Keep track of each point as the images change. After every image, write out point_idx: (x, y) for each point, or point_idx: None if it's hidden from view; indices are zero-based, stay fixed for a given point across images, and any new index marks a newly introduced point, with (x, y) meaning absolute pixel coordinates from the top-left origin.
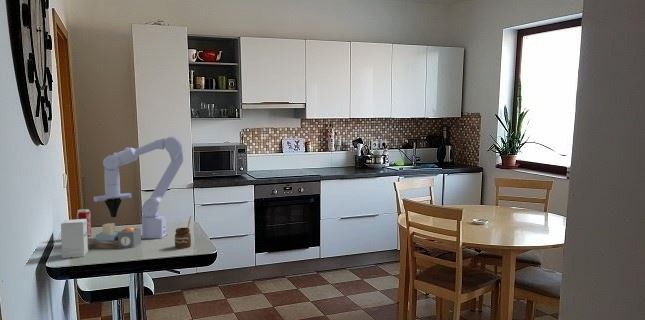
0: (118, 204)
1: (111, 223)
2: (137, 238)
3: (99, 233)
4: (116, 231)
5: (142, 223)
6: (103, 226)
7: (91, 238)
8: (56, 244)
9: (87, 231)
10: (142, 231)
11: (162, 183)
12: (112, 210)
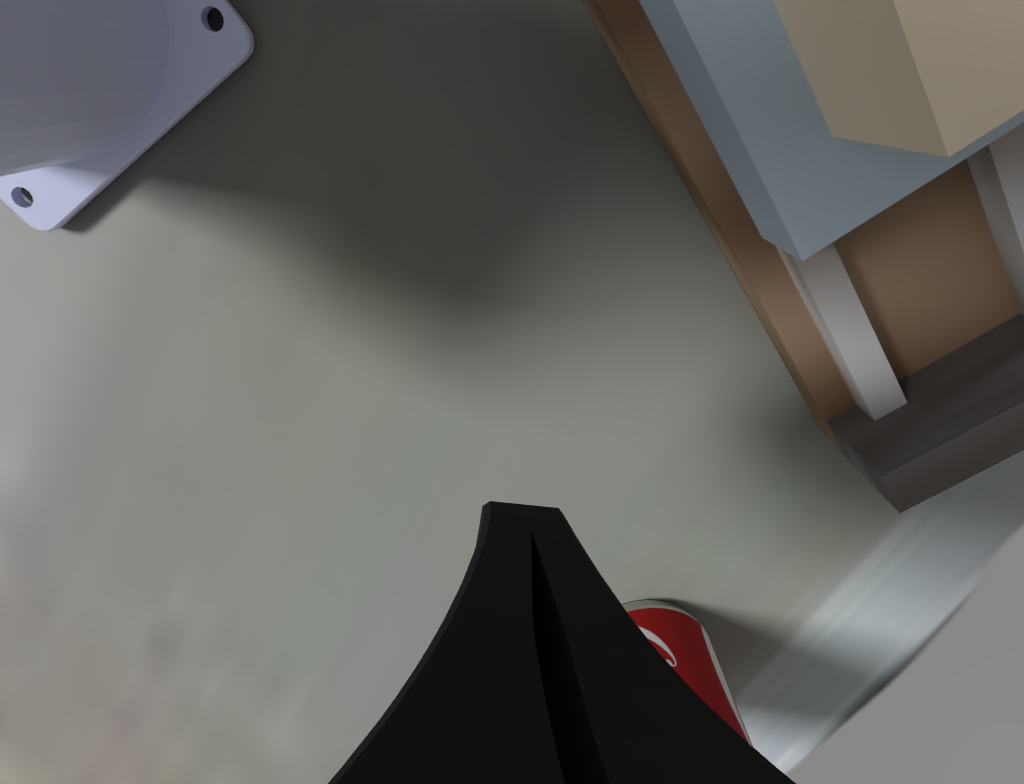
0: (432, 751)
1: (950, 2)
2: None
3: (996, 135)
4: (730, 2)
5: (14, 22)
6: None
7: (875, 337)
8: (947, 597)
9: (668, 660)
10: (123, 54)
11: None
12: (621, 618)
